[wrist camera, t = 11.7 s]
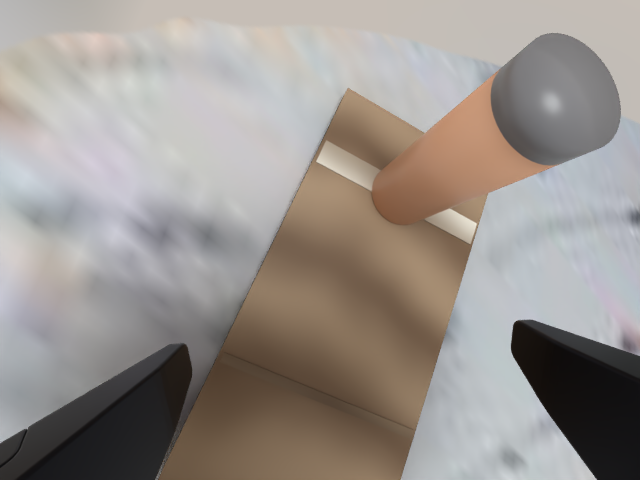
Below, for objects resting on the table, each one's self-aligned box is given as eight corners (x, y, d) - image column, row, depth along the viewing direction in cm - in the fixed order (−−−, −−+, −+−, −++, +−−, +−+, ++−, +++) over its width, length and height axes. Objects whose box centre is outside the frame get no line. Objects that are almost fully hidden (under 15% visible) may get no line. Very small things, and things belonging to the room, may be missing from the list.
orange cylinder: (429, 227, 21) (629, 157, 10) (372, 222, 20) (527, 140, 9) (426, 168, 21) (611, 47, 11) (371, 161, 20) (515, 20, 10)
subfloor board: (370, 539, 18) (378, 554, 17) (162, 469, 16) (157, 481, 15) (483, 178, 24) (495, 173, 23) (343, 96, 22) (348, 86, 21)
